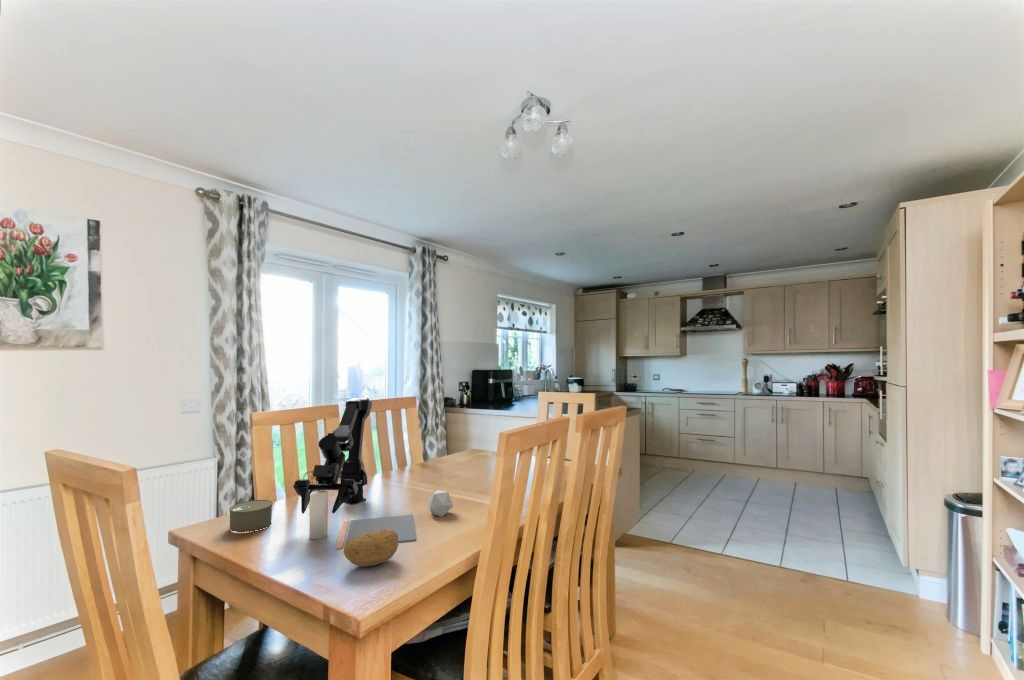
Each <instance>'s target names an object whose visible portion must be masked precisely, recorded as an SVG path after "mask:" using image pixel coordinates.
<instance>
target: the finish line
mask: <svg viewBox="0 0 1024 680" xmlns="http://www.w3.org/2000/svg"><path fill="white" fill-rule="evenodd" d="M349 524H350V523H349V520H346V521H345V520H344V521H343V523H342V526H341V529H340V533H339V537H338V539H337V540H338V541H337V544H336V548H335V550H342V549H343V547H344V543H345V539H346V534H347V531H348V526H349Z"/></svg>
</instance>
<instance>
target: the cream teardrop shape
mask: <svg viewBox="0 0 1024 680" xmlns="http://www.w3.org/2000/svg"><path fill="white" fill-rule="evenodd" d="M328 514H329V490H320V491H314V492H312V493H310V501H309V539H310V540H320V539H324V538H326V537H328V532H329V531H328V525H329V523H328V521H329V517H328V516H329V515H328Z"/></svg>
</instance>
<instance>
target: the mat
mask: <svg viewBox="0 0 1024 680" xmlns="http://www.w3.org/2000/svg"><path fill="white" fill-rule="evenodd" d="M385 529H391V530H393V531H395V532H396V533H397V536H398V544H399V543H405V542H416V541H417V540H418V539H417V534H416V533H417V532H416V528H415V521H414V515H413V514H406V515H393V516H382V517H371V518H360V519H359V518H358V519H352V520H350V523H349V528H348V530H347V531H348V532H347V536H346V540H345V545H346V544H347V543H348V542H349V541H350V540H351V539H352V538H354V537H357V536H360V535H363V534H365V533H368V532H371V531H379V530H385ZM345 545H344V546H345Z"/></svg>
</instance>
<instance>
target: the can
mask: <svg viewBox="0 0 1024 680" xmlns="http://www.w3.org/2000/svg"><path fill="white" fill-rule="evenodd" d="M272 510H273V501H271V500H269V499H253V500H247V501H243V502H242V501H241V502H239V503H237V504H236V503H235V504H234V505H231V506H230V507H229V530H230V529H231V530H232V531H237V532H245V531H246V532H247V531H249V532H250V531H255V530H260V529H263V528H266V527H268V526H269V527H270V525H272V518H273V517H272V515H273V514H272ZM269 527H268V528H269ZM266 529H267V528H266Z"/></svg>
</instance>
